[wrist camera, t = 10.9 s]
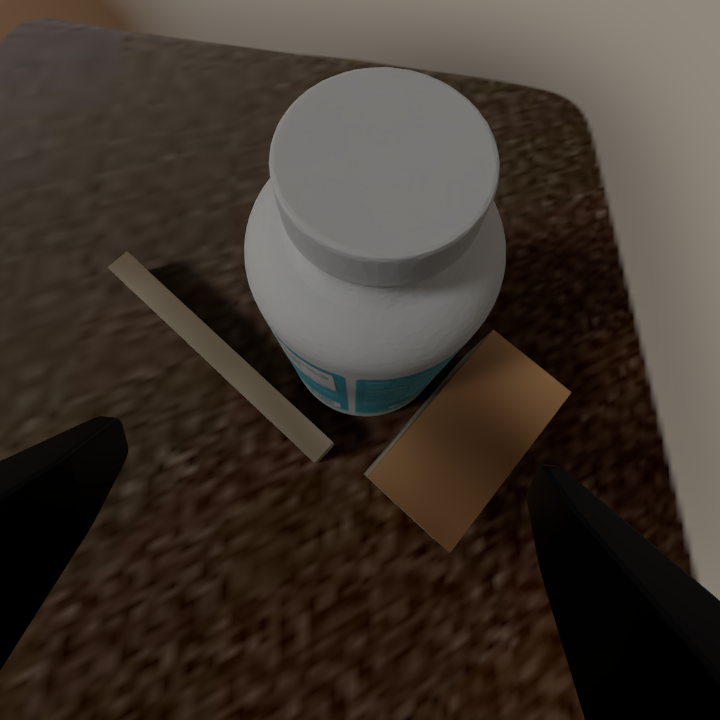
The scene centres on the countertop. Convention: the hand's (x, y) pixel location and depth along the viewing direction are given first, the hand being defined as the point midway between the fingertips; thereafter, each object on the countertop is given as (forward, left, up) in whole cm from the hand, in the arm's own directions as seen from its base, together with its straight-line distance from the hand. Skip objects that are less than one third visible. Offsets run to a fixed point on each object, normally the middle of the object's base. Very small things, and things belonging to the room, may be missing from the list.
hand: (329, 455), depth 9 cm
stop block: (+4, -3, -11) cm, 12 cm away
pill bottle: (+5, +3, -11) cm, 13 cm away
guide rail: (0, +8, -11) cm, 14 cm away
